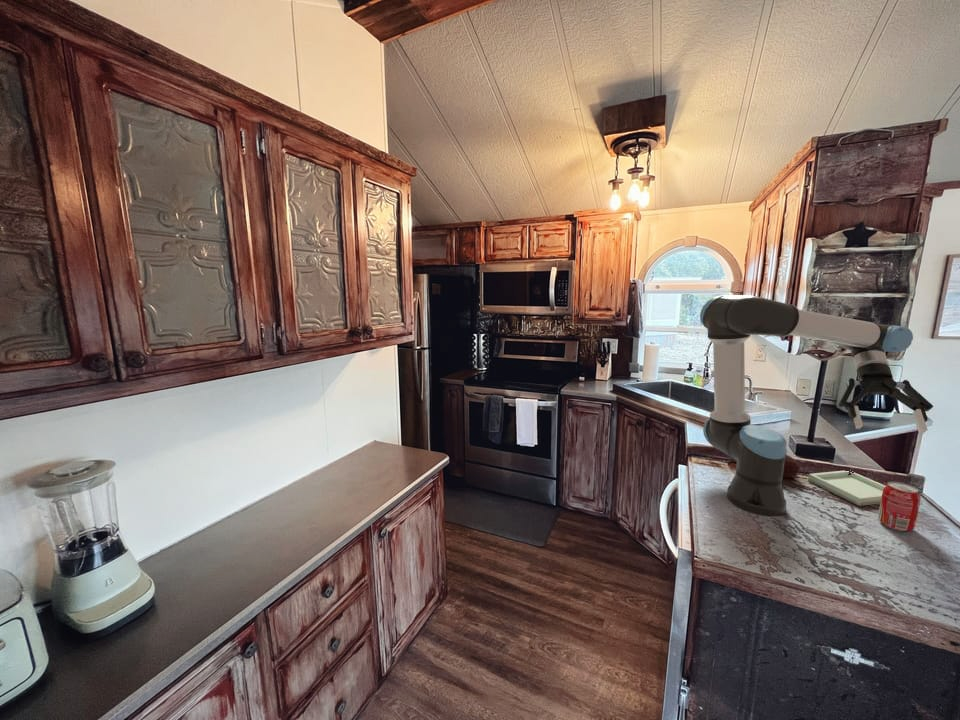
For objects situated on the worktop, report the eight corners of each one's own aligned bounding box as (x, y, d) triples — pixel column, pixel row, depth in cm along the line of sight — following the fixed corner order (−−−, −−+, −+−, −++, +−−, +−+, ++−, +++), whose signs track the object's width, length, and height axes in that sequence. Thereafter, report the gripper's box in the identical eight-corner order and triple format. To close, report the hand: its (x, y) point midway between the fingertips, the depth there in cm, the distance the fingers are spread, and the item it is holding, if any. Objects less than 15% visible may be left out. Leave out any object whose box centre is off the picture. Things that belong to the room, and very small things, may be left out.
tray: (858, 505, 116) (860, 498, 116) (807, 480, 132) (808, 473, 132) (902, 501, 118) (904, 493, 118) (847, 476, 134) (848, 470, 134)
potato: (806, 482, 131) (809, 459, 130) (777, 484, 130) (780, 462, 128) (777, 467, 142) (779, 446, 141) (750, 469, 141) (752, 448, 140)
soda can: (896, 519, 110) (904, 480, 107) (922, 534, 103) (930, 493, 101) (869, 518, 110) (876, 480, 108) (893, 533, 103) (901, 493, 101)
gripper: (921, 375, 118) (944, 438, 108) (818, 372, 129) (830, 430, 119) (934, 362, 113) (960, 428, 102) (825, 361, 124) (839, 420, 113)
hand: (890, 429), depth 111 cm, fingers open, 13 cm apart
